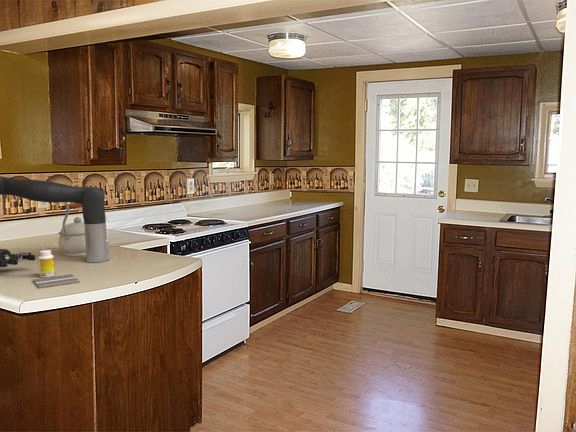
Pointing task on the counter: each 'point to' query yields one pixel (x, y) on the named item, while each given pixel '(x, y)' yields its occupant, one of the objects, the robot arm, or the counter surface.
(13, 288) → the counter surface
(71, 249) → the kettle
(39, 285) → the lane mat
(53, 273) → the supplement bottle
